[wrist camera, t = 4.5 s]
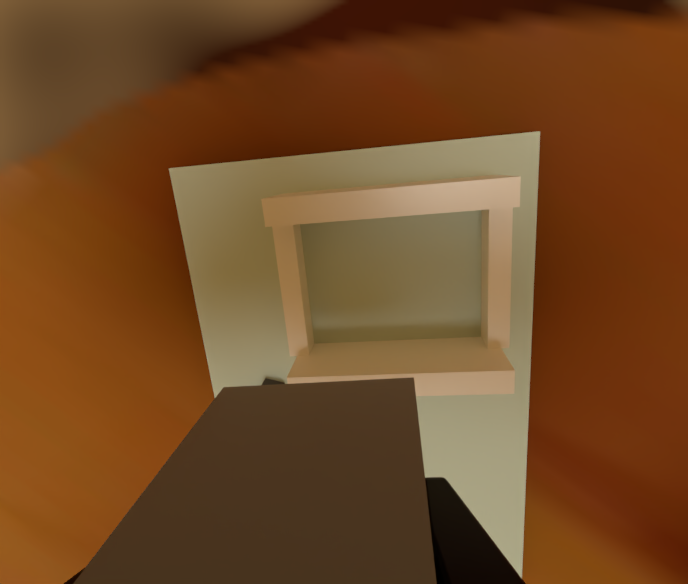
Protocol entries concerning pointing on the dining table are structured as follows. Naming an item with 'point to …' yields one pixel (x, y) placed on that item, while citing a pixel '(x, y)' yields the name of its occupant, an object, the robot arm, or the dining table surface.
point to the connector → (284, 493)
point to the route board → (376, 293)
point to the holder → (417, 354)
